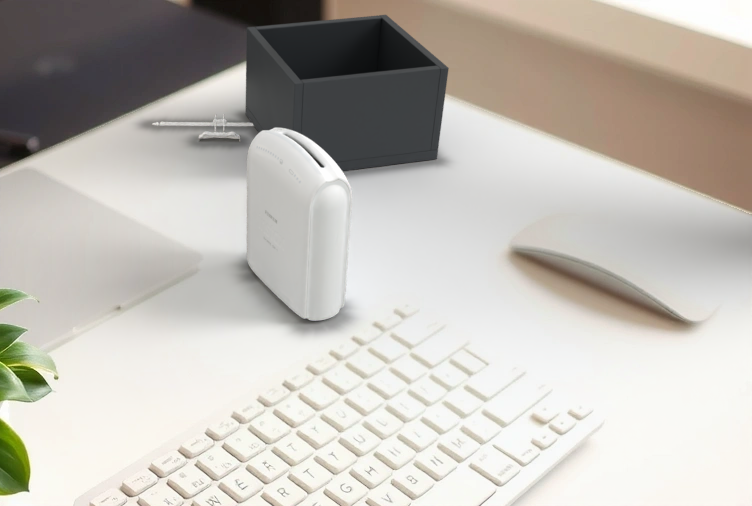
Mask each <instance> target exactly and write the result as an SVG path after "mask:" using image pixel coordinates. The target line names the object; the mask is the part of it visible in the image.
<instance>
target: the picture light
mask: <svg viewBox="0 0 752 506" xmlns="http://www.w3.org/2000/svg"><path fill="white" fill-rule="evenodd" d="M222 115H223V116H222V118H220V119H219V118H218V119H217V114H216V113H215V114H214V118H213V119H212V121H211V122H208V121H205V122H204V121H200V122H199V121H198V122H197V121H160V122H158V121H156V122H153V123H151V125H152V126H161V127H163V126H170V127H172V126H175V127H180V126H181V127H192V126H193V127H208V126H209V127H214V131H213V132H212V131H208V130H205V131H203V132H202V133H200V134H199V135H198V140H203V139H219V138H220V139H233V140H239V142H240V143H241V135H240V134H238V133H236V131H234V130H233V131H229V132H225V127H255V126H254V125H253V123H252V122H228V121H227V119H226V118H225V114H224V113H223V114H222ZM217 127H222V132H221V131H219V132H218V131H217Z"/></svg>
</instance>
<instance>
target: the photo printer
mask: <svg viewBox="0 0 752 506" xmlns="http://www.w3.org/2000/svg"><path fill="white" fill-rule="evenodd" d="M352 206H353V190H352V187H351V184H350V182H349V180H348V178H347V177H346V175H345V173H344V171H342V170H341V169H340V167H339V166H338V165H337V164H336V162H335V161H334V160H333V159H332V158H331V157H330V156H329V155H328V154H327V153H326V152H325V151H324V150H323V149H322V148H321V147H320V146H318V145H317V144H316V143H315V142H313V141H312V140H310V139H309V138H307V137H306V136H304V135H302V134H300V133H298V132H295V131H293V130H289V129H285V128H273V129H271V130H263V131H261V132H258V133H257V134H256V135H255V137H254V138H253V139H252V141H251V142H250V144H249V147H248V151H247V155H246V261H247V264H248V266H249V268H250V269H251V271H252V272H253V273H254V274H255V275H256V276H257V278H258V279H259V280H260V281H261V282H262V283H263V284H264V285H265V286H266V287H267V288H268V289H269V290H270V291H271V292H272V293H273V294H274V295H275V296H276V297H277V298H278V299H279V300H280V301H282V303H283V304H285V305H286V306H287V307H288V308H289V309H290V310H291V311H292V312H293V313H295V314H296V315H297V316H298V317H300V318H301V319H305V320H306V319H307V320H309V321H315V322H317V321H323V320H328V319H331V318H333V317H335V316H336V315H337V314H338V313H339V312H340V309H343V308H344V307H345V302H346V296H347V295H346V294H347V293H346V292H347V281H348V280H347V279H348V263H349V250H350V236H351V235H350V234H351V223H352V222H351V220H352Z"/></svg>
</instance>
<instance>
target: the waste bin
mask: <svg viewBox="0 0 752 506" xmlns="http://www.w3.org/2000/svg"><path fill="white" fill-rule="evenodd" d="M245 48H246V51H245V52H246V53H245V54H246V56H245V115H246V117H247V118H248V119H249V121H250V123H253V125H254V126H253V127H254V128H255V129H256V131H257V132H258V133H259V132H261V131H263V130H271V129H273V128H285V129H289V130H293V131H295V132H298V133H300V134H302V135H304V136H306V137H307V138H309V139H310V140H312V141H313V142H315V143H316V144H317V145H318V146H320V147H321V148H322V149H323V150H324V151H325V152H326V153H327V154H328V155H329V156H330V157H331V158H332V159H333V160H334V161H335V162H336V164H337V165H338V166H339V167H340V169H341V170H342V172H346V171H352V170H361V169H369V168H377V167H384V166H392V165H399V164H400V165H401V164H408V163H409V164H410V163H417V162H424V161H432V160H437V159H438V153H439V146H440V139H441V130H442V122H443V114H444V108H445V101H446V100H445V99H446V91H447V84H448V75H449V68H450V67H448V66H447V65H446V64H445V63H444V62H443V61H441V60H440V59H439V58H438V57H437V56H436V55H434V54H433V53H432V52H431V51H430V50H428V49H427V48H426V47H425V46H424V45H422V44H421V43H420V42H419V41H418V40H417V39H416V38H414V37H413V36H412V35H411V34H410V33H409V32H407V31H406V30H405V29H404V28H403V27H401V26H400V24H398V23H397V22H395V21H394V20H393V19H392V18H391V17H390V16H388V14H379V15H367V16H359V17H358V16H357V17H347V18H334V19H325V20H315V21H303V22H292V23H281V24H280V23H279V24H270V25H269V24H268V25H259V26H248V27H246V47H245Z"/></svg>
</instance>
